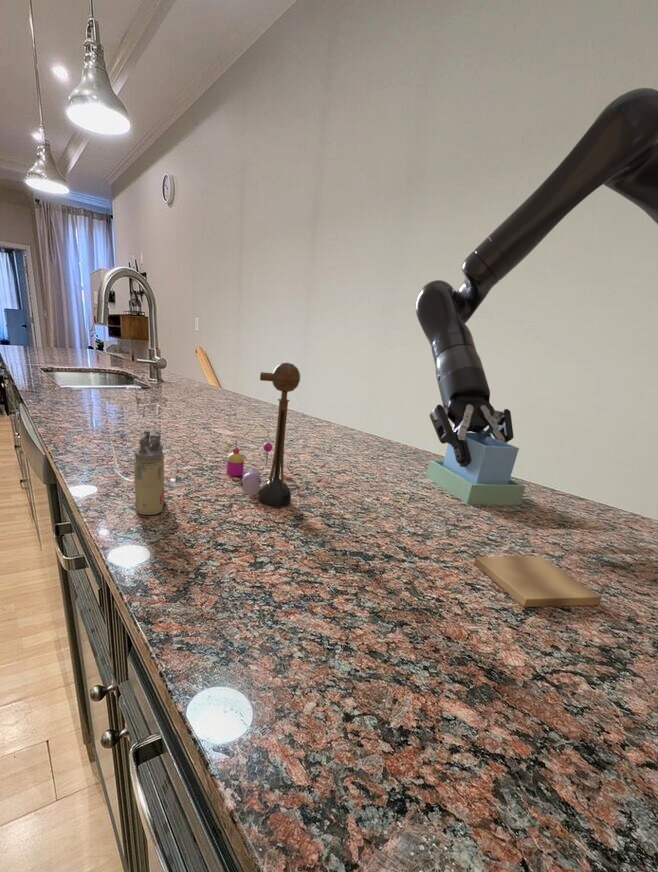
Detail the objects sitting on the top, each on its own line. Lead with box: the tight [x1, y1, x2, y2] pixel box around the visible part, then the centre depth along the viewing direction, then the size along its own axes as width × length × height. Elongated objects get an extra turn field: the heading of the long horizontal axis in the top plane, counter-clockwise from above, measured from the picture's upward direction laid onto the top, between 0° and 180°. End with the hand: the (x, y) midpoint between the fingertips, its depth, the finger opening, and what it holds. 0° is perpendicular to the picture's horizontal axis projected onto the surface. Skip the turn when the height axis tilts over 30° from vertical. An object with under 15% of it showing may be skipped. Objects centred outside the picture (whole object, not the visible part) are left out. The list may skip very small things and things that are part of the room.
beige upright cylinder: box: [133, 430, 166, 516], centre depth 60 cm, size 7×4×10 cm, turn 8°
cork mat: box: [473, 555, 602, 608], centre depth 50 cm, size 9×9×1 cm
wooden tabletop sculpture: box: [258, 362, 301, 508], centre depth 63 cm, size 6×5×20 cm
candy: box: [226, 439, 273, 497], centre depth 76 cm, size 18×8×6 cm, turn 2°
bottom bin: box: [425, 459, 527, 506], centre depth 74 cm, size 9×13×5 cm
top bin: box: [443, 431, 520, 485], centre depth 73 cm, size 6×10×10 cm, turn 10°
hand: (483, 465), depth 71 cm, fingers closed on top bin, 5 cm apart
